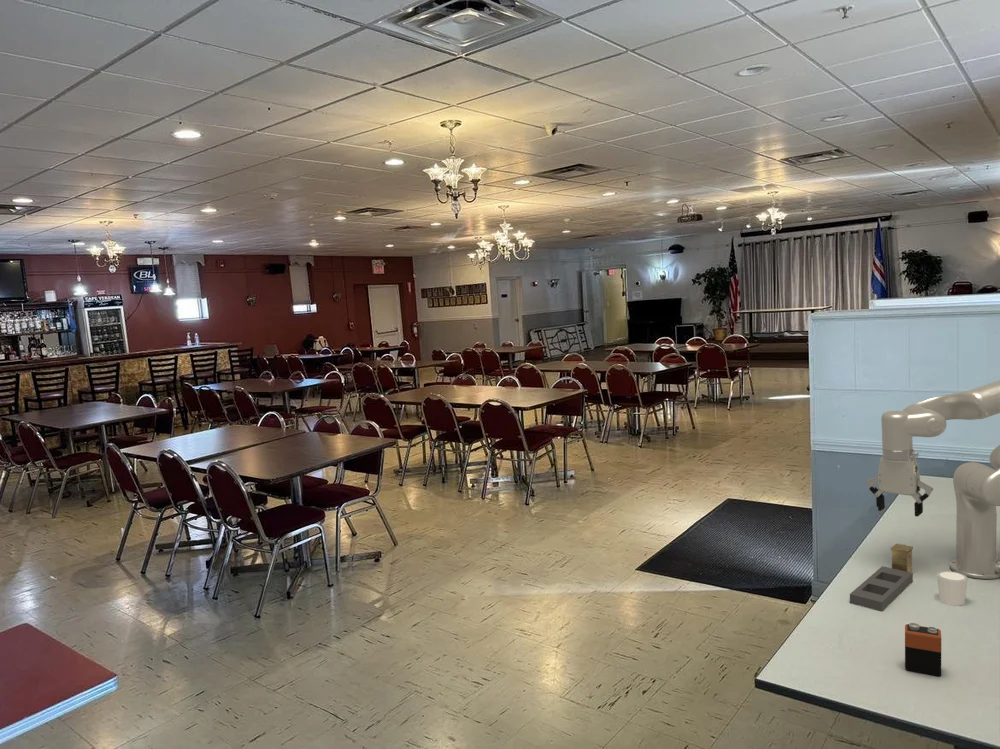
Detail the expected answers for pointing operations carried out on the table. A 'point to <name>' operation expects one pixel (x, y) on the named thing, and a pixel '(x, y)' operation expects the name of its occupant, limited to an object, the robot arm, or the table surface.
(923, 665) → the battery
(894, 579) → the rail
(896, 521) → the table surface
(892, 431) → the robot arm
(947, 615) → the table surface
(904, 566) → the tan upright block
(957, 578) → the white short cylinder
